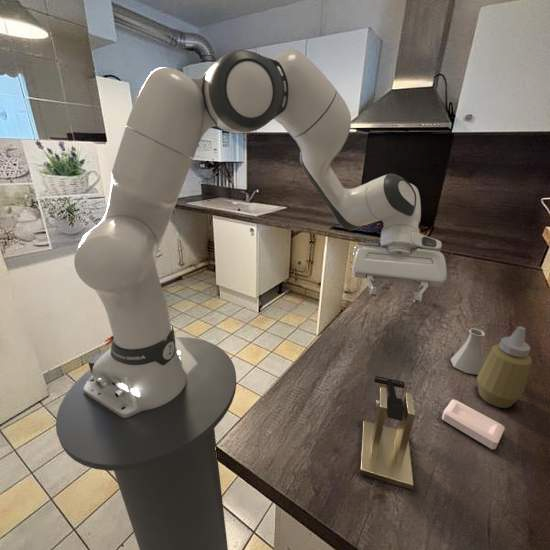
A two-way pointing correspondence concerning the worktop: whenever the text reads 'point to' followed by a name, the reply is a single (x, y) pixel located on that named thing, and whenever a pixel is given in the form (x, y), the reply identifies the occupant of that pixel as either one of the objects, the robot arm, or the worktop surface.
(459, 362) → the flask
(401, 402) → the lever
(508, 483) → the worktop surface
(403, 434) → the cream lever mount
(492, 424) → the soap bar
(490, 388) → the squeeze bottle
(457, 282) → the worktop surface
